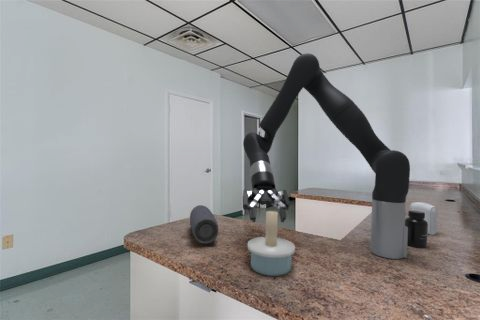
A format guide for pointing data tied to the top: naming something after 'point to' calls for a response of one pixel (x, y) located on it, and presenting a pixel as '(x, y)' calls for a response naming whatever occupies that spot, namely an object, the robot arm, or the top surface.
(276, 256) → the lid
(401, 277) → the top surface
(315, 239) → the top surface
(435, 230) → the photo printer
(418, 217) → the supplement bottle
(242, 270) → the top surface
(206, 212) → the bluetooth speaker
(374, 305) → the top surface
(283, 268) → the bowl
